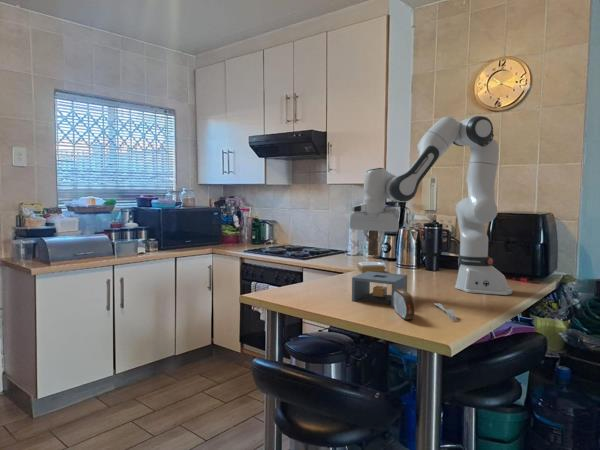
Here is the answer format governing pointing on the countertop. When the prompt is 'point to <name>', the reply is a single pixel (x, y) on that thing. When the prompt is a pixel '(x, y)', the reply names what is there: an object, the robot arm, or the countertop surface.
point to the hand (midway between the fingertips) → (373, 241)
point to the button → (380, 291)
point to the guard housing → (363, 282)
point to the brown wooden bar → (373, 243)
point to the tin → (403, 304)
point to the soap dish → (371, 267)
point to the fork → (446, 311)
